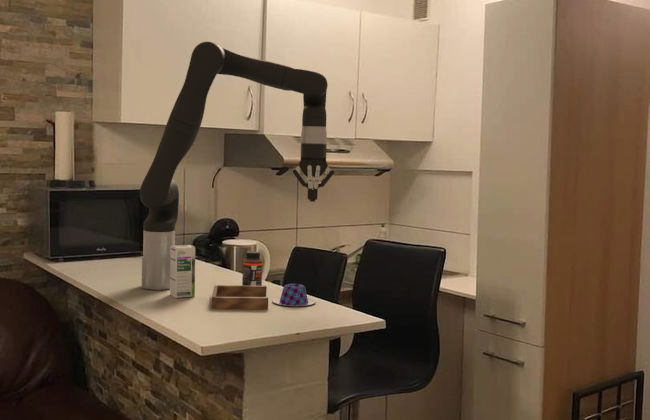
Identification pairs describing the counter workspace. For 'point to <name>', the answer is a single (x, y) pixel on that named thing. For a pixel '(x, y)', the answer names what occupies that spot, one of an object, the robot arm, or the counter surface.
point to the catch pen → (248, 298)
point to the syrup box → (182, 271)
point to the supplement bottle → (252, 269)
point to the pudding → (294, 296)
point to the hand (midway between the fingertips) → (312, 201)
